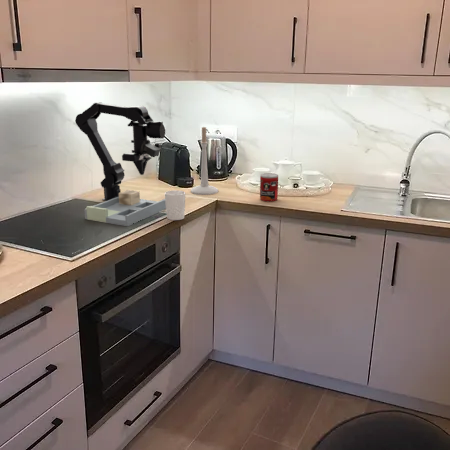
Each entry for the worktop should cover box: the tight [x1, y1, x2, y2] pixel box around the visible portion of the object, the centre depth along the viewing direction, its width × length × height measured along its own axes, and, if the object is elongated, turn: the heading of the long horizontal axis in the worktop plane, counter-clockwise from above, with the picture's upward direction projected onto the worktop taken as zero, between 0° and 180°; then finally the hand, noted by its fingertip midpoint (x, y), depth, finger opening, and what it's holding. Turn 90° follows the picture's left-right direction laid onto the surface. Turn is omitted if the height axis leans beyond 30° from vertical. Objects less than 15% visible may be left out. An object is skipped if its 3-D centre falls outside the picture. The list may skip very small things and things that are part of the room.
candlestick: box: [190, 126, 219, 196], centre depth 232 cm, size 13×13×30 cm
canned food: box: [259, 172, 279, 202], centre depth 221 cm, size 8×8×11 cm
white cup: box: [164, 189, 186, 221], centre depth 195 cm, size 8×8×10 cm
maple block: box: [119, 189, 141, 205], centre depth 209 cm, size 6×6×4 cm
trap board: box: [84, 197, 166, 227], centre depth 202 cm, size 20×28×5 cm
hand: (142, 174), depth 215 cm, fingers closed
